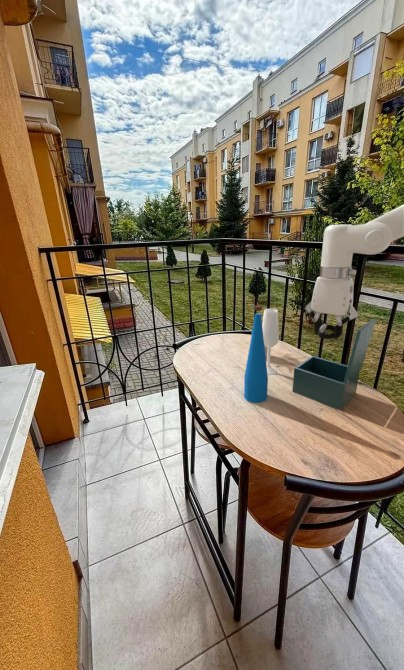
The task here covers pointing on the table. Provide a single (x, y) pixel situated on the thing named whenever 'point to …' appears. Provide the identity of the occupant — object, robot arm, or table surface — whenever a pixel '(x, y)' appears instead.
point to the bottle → (256, 364)
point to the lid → (359, 350)
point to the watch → (323, 328)
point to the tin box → (324, 382)
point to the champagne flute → (270, 334)
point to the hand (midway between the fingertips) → (327, 334)
